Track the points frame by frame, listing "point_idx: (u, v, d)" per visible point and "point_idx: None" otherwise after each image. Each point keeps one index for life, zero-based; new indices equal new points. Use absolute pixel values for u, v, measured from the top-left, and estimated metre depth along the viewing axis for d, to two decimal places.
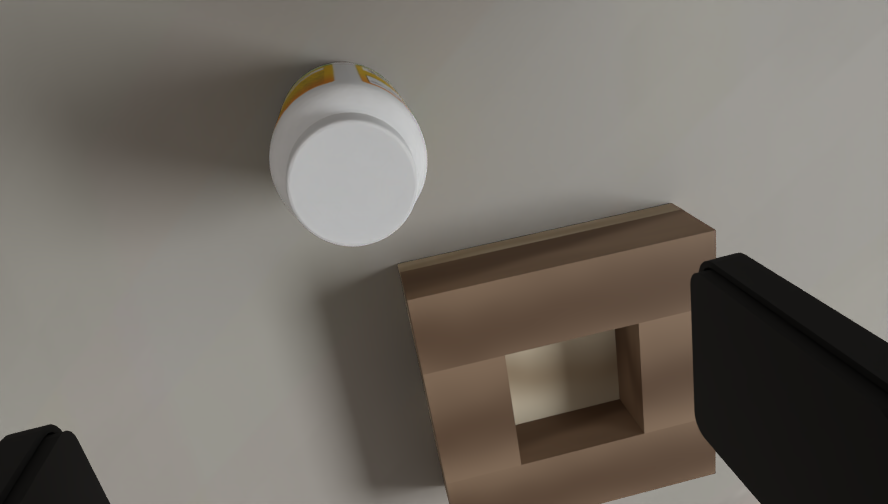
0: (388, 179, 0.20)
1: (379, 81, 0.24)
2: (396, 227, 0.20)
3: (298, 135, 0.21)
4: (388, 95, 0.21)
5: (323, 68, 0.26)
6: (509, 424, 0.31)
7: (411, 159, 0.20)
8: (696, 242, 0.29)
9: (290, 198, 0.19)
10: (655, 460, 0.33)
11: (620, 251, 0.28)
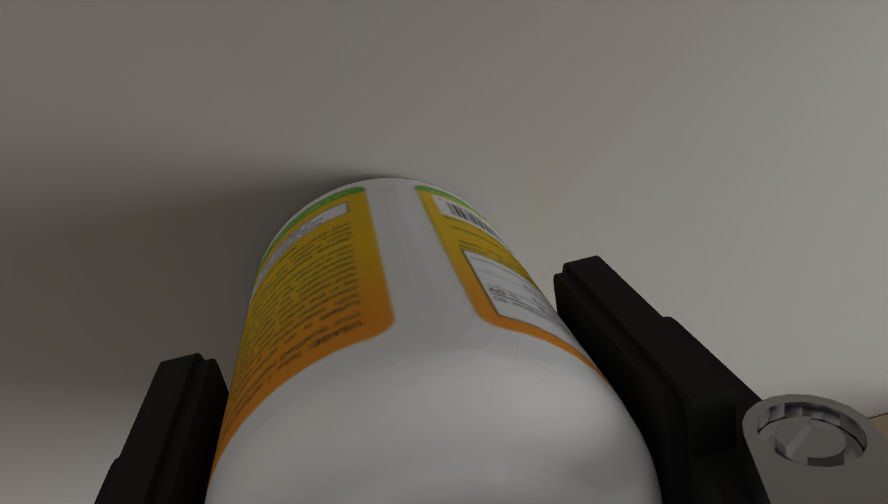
0: None
1: (497, 266, 0.09)
2: None
3: None
4: (569, 375, 0.07)
5: (346, 208, 0.11)
6: None
7: None
8: None
9: None
10: None
11: None
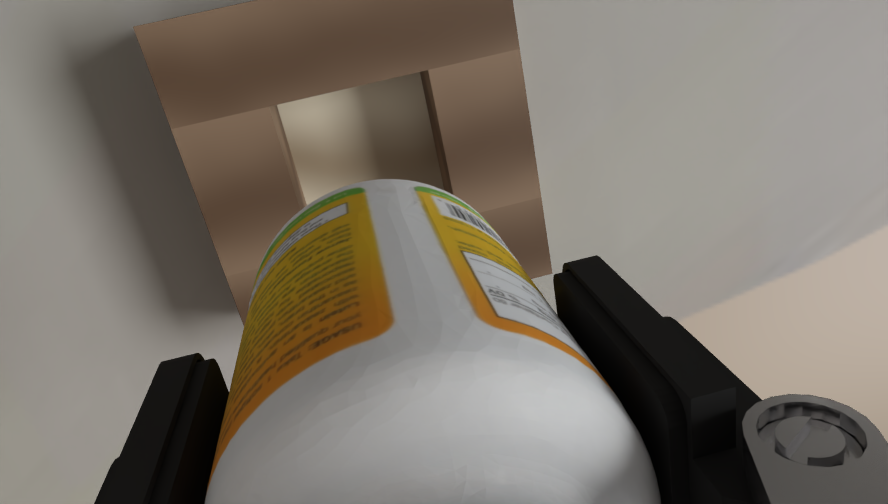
0: None
1: (496, 267, 0.09)
2: None
3: None
4: (568, 376, 0.07)
5: (346, 209, 0.11)
6: (290, 199, 0.27)
7: None
8: None
9: None
10: None
11: None
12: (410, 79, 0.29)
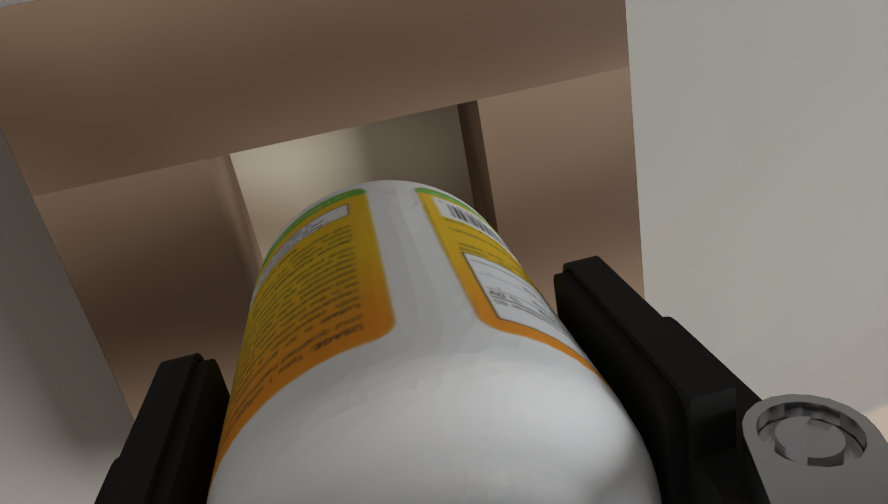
0: None
1: (497, 268, 0.09)
2: None
3: None
4: (569, 378, 0.07)
5: (347, 210, 0.11)
6: (242, 308, 0.16)
7: None
8: None
9: None
10: None
11: None
12: (440, 109, 0.18)
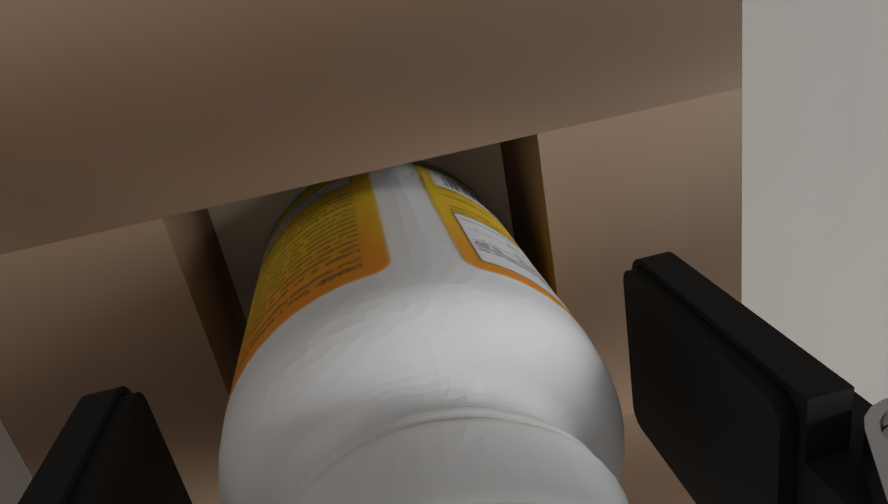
0: None
1: (484, 227, 0.10)
2: None
3: (295, 445, 0.07)
4: (540, 308, 0.08)
5: (350, 180, 0.12)
6: (218, 411, 0.12)
7: None
8: None
9: None
10: None
11: None
12: None
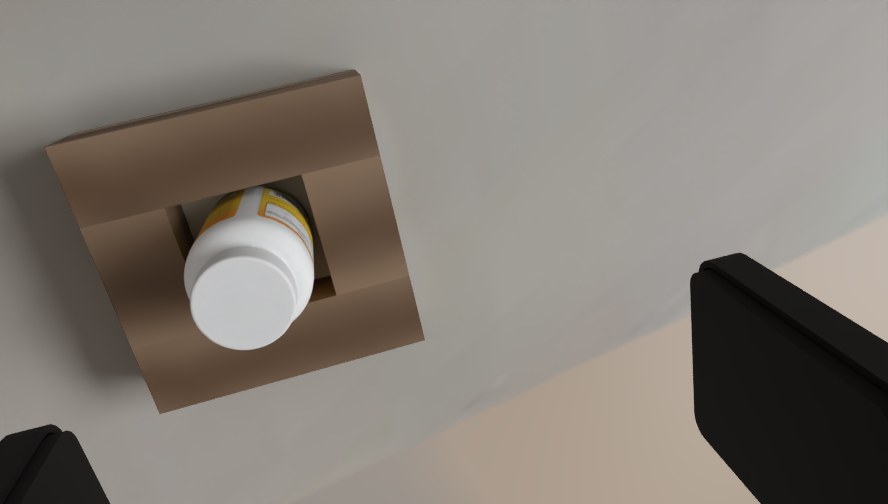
0: (271, 298, 0.25)
1: (277, 207, 0.30)
2: (280, 334, 0.26)
3: (204, 262, 0.26)
4: (276, 226, 0.27)
5: (236, 193, 0.31)
6: None
7: (288, 282, 0.25)
8: (342, 87, 0.30)
9: (194, 316, 0.25)
10: (355, 325, 0.34)
11: (263, 97, 0.29)
12: (296, 176, 0.34)
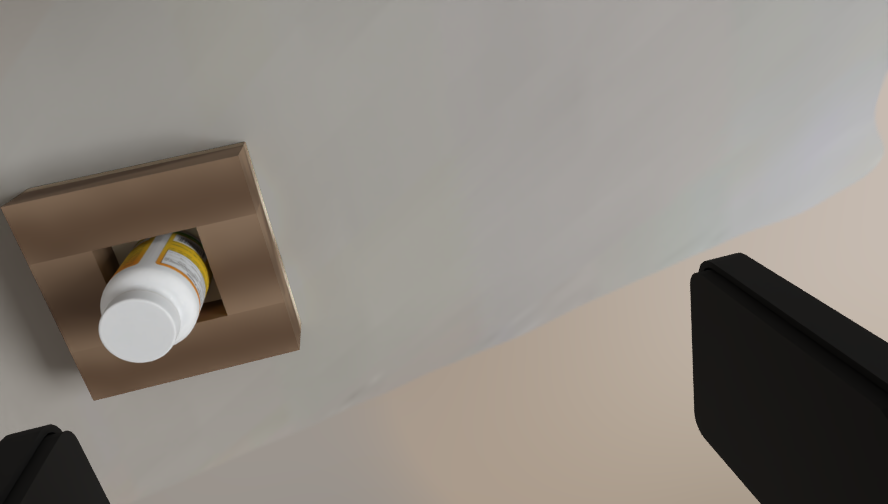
0: (157, 327, 0.36)
1: (175, 253, 0.40)
2: (165, 352, 0.36)
3: (113, 298, 0.37)
4: (168, 272, 0.37)
5: (149, 238, 0.42)
6: None
7: (169, 317, 0.35)
8: (225, 164, 0.40)
9: (101, 339, 0.35)
10: (243, 337, 0.44)
11: (164, 171, 0.39)
12: None
